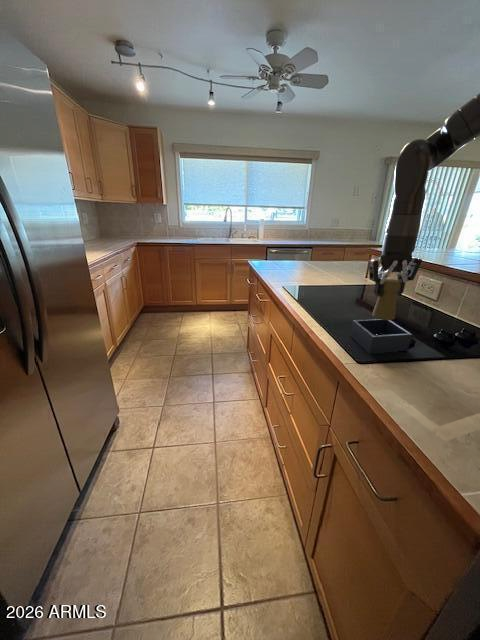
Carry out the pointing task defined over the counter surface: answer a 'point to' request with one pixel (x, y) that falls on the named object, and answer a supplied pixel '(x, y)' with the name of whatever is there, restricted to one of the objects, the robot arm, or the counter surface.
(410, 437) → the counter surface
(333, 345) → the counter surface
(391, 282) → the cork
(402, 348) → the bin
